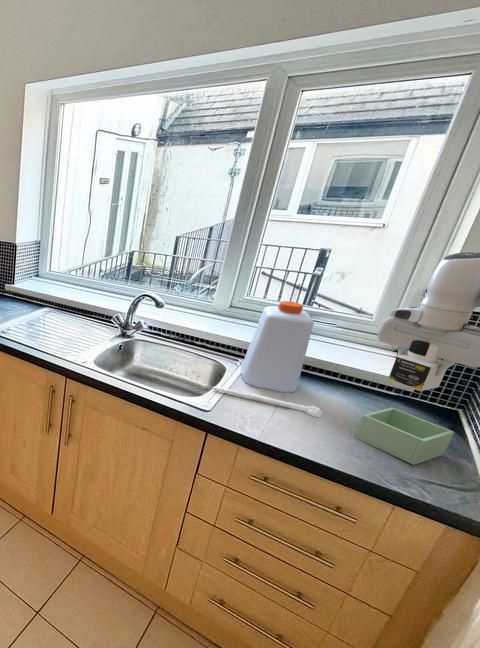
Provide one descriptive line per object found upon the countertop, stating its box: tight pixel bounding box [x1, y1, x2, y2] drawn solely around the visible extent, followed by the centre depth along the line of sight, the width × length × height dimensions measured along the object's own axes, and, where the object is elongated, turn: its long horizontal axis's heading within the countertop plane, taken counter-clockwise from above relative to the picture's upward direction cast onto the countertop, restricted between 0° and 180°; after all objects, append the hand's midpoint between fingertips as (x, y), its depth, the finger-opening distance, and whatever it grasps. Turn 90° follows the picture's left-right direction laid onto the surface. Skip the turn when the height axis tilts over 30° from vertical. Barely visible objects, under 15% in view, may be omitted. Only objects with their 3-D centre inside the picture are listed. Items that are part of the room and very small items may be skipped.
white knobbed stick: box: [212, 386, 323, 418], centre depth 128 cm, size 28×4×3 cm, turn 58°
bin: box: [354, 407, 455, 466], centre depth 108 cm, size 13×13×7 cm
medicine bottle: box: [388, 340, 447, 392], centre depth 108 cm, size 7×7×12 cm
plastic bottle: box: [240, 300, 315, 394], centre depth 137 cm, size 15×15×28 cm
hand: (419, 369), depth 108 cm, fingers closed on medicine bottle, 5 cm apart
